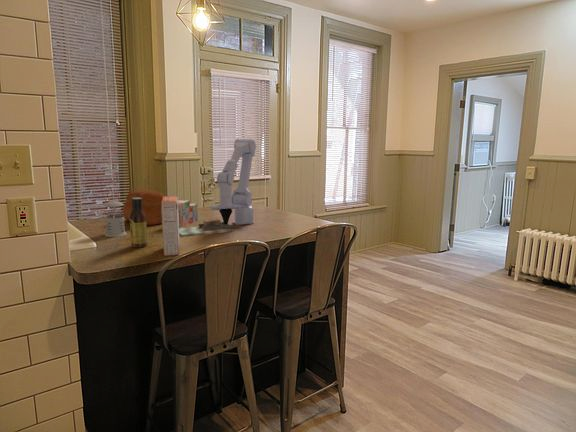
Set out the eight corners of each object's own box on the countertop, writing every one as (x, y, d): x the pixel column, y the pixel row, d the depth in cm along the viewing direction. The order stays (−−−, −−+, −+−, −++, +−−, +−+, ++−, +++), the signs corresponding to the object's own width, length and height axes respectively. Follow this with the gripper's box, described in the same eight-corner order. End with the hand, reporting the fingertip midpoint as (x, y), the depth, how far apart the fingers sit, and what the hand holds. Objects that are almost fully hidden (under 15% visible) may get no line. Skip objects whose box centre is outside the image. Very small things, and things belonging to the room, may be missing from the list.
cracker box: (164, 247, 167) (162, 196, 163) (180, 246, 168) (178, 195, 165) (162, 256, 154) (160, 201, 150) (179, 255, 155) (177, 200, 151)
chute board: (221, 226, 209) (221, 224, 209) (231, 231, 197) (231, 230, 197) (174, 230, 198) (174, 228, 197) (181, 236, 186) (181, 234, 185)
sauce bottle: (133, 244, 170) (131, 196, 167) (149, 244, 171) (147, 196, 167) (129, 248, 164) (126, 198, 160) (145, 248, 164) (142, 199, 161)
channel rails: (224, 225, 206) (223, 221, 206) (229, 228, 200) (229, 224, 199) (198, 227, 200) (198, 223, 200) (203, 231, 193) (203, 226, 193)
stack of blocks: (187, 219, 224) (186, 197, 222) (197, 220, 223) (197, 198, 220) (168, 227, 203) (167, 203, 201) (180, 228, 202) (179, 203, 200)
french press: (104, 237, 180) (101, 180, 176) (102, 232, 191) (99, 178, 186) (128, 235, 185) (125, 180, 180) (125, 230, 195) (122, 177, 190)
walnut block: (217, 226, 203) (217, 218, 202) (220, 228, 199) (220, 220, 198) (203, 228, 200) (203, 220, 199) (206, 229, 196) (206, 221, 195)
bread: (143, 227, 203) (142, 193, 200) (120, 221, 216) (118, 189, 213) (173, 222, 216) (172, 190, 213) (149, 217, 229) (148, 187, 226)
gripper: (214, 198, 193) (214, 226, 195) (242, 197, 200) (242, 224, 202) (209, 196, 199) (209, 224, 201) (237, 195, 206) (237, 221, 208)
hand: (225, 224), depth 202 cm, fingers closed
